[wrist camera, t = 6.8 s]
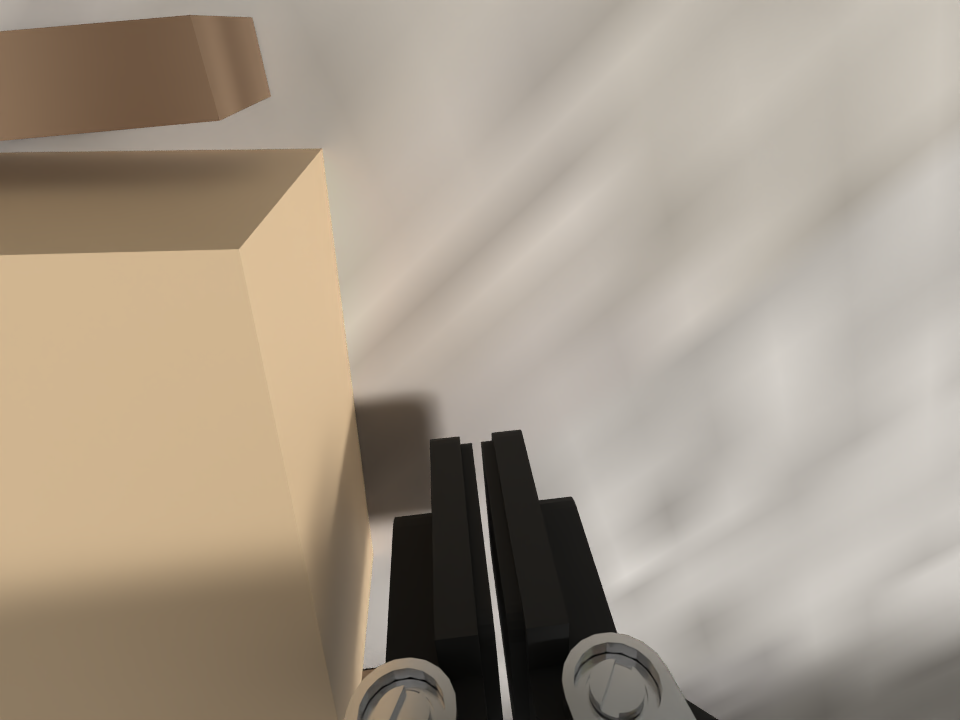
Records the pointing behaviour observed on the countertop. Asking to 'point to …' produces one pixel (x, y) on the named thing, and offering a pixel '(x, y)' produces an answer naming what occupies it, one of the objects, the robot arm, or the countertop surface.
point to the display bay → (128, 76)
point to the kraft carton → (176, 441)
